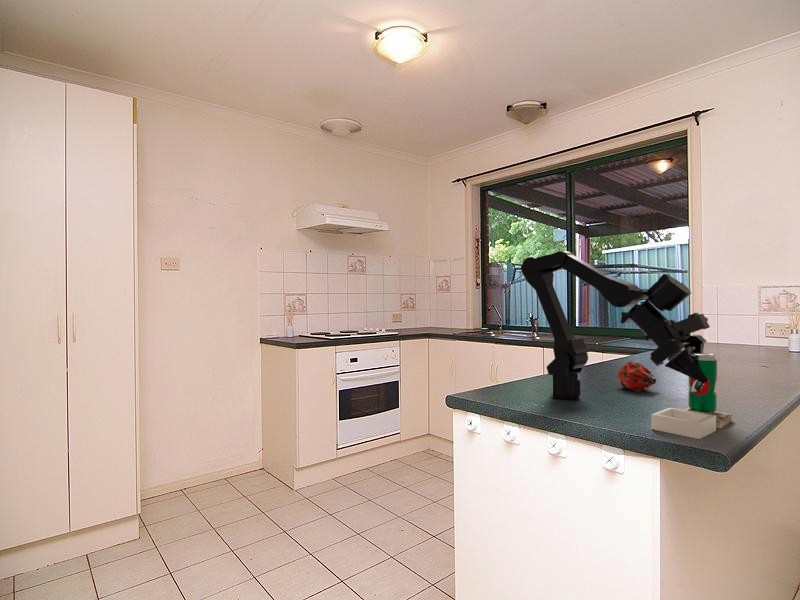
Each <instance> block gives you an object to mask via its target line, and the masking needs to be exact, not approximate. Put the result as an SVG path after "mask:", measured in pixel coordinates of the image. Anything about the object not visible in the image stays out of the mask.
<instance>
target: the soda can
mask: <svg viewBox="0 0 800 600" xmlns="http://www.w3.org/2000/svg"><path fill="white" fill-rule="evenodd" d="M691 357H692V359H693V360H694V361H695V363H696V364H697V365H698V367H699V368H700V369H701V370H702V372H703V373H704V374H705V376H706V377H707V378H708V381H707V382H706V383H702V382H700V381H698V380H696V379H694V378H691V377H689V376H688V403H687V405H688V407H690V409H691V410H694V411H697V412H704V413H712V412H714V411H716V412H717V408H718V405H717V404H718V360H717V358H716V355H715V354H713V353H704V352H703V353H692V354H691Z"/></svg>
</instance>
